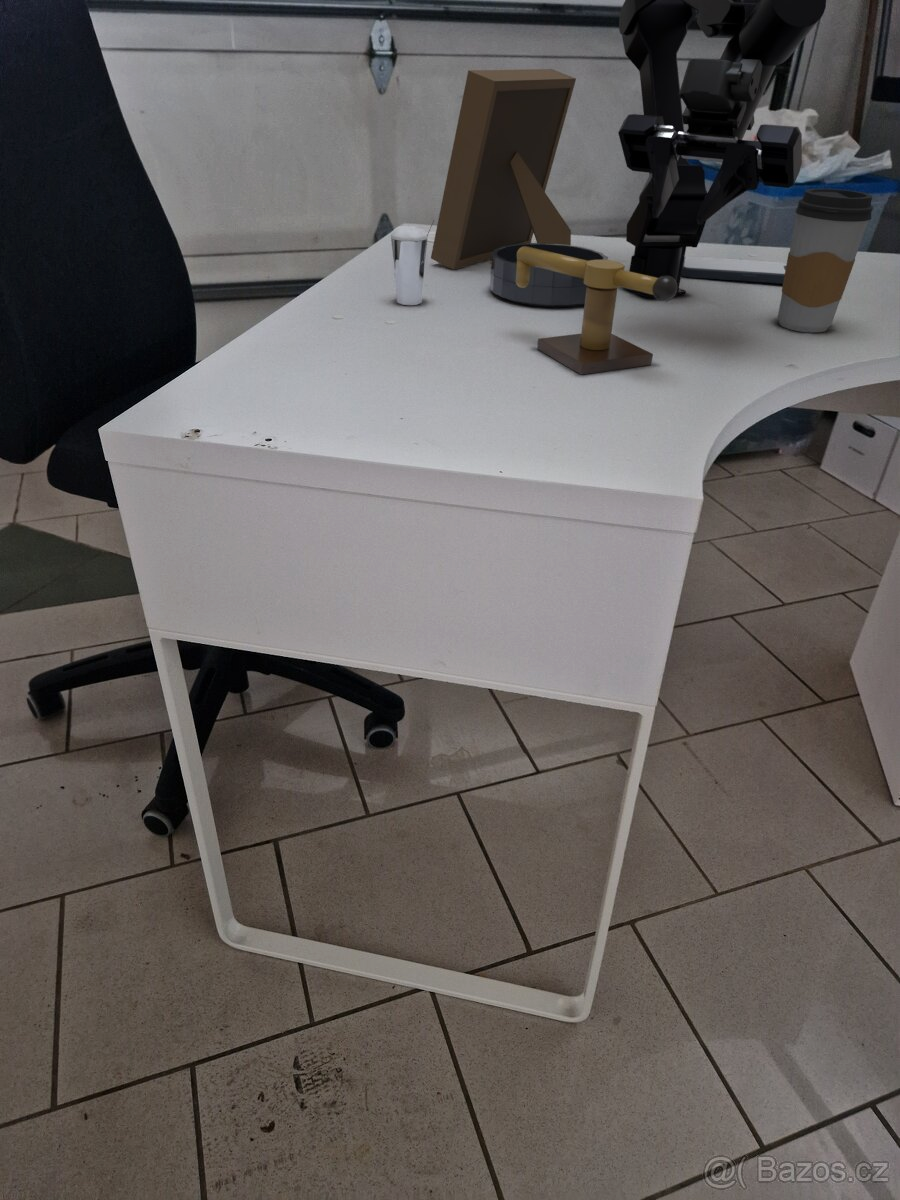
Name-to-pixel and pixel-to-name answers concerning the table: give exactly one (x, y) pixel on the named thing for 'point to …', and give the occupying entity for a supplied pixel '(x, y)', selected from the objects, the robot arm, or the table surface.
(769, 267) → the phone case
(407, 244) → the milkshake
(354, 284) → the table surface
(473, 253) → the photo frame
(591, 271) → the faucet
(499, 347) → the table surface
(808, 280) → the coffee cup
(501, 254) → the basin
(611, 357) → the faucet base
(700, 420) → the table surface
